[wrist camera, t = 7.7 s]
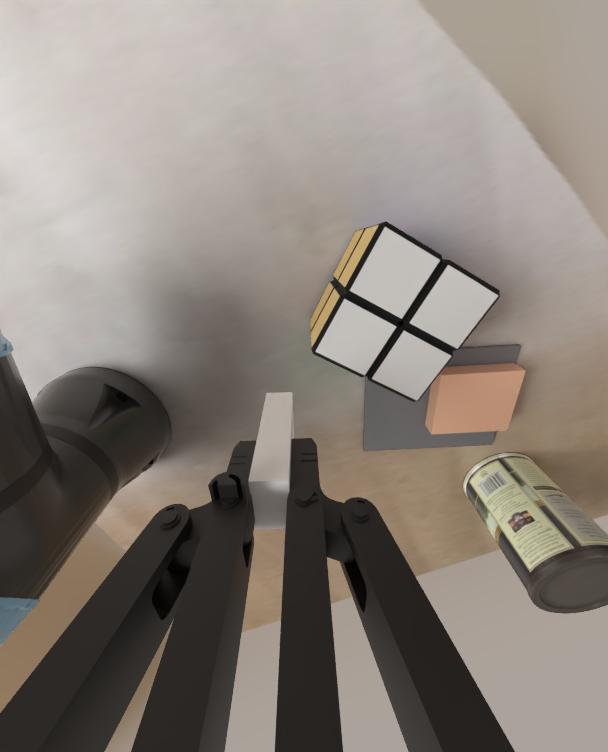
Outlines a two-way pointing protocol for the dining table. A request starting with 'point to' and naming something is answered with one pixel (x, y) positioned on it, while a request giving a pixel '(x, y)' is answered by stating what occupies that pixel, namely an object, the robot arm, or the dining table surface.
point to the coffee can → (541, 533)
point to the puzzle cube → (397, 311)
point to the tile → (473, 398)
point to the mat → (423, 409)
